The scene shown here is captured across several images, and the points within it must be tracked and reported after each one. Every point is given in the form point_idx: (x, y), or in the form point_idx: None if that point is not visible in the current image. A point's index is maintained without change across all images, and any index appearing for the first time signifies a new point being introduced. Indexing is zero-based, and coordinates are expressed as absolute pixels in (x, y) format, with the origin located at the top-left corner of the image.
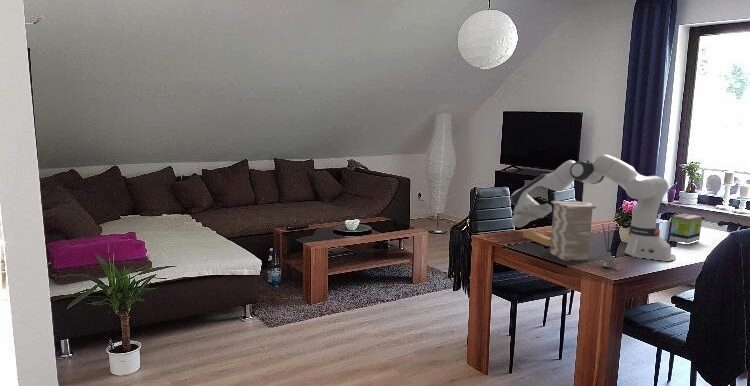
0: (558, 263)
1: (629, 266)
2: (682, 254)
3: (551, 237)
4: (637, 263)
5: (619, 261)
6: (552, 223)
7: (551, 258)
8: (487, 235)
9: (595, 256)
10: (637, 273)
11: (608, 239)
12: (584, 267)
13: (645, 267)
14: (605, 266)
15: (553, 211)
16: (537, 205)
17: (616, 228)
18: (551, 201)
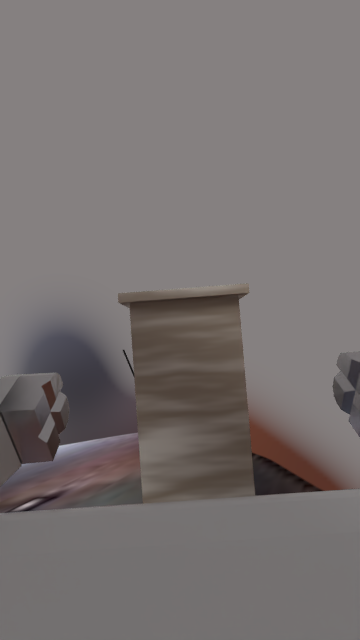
0: (266, 460)
1: (90, 455)
2: None
3: (251, 452)
4: (42, 467)
5: (71, 474)
6: (245, 386)
7: (274, 485)
8: None
9: (95, 502)
10: (119, 436)
11: None
12: None
13: (60, 453)
14: None
15: (240, 331)
16: (128, 512)
17: (126, 356)
18: (247, 286)
